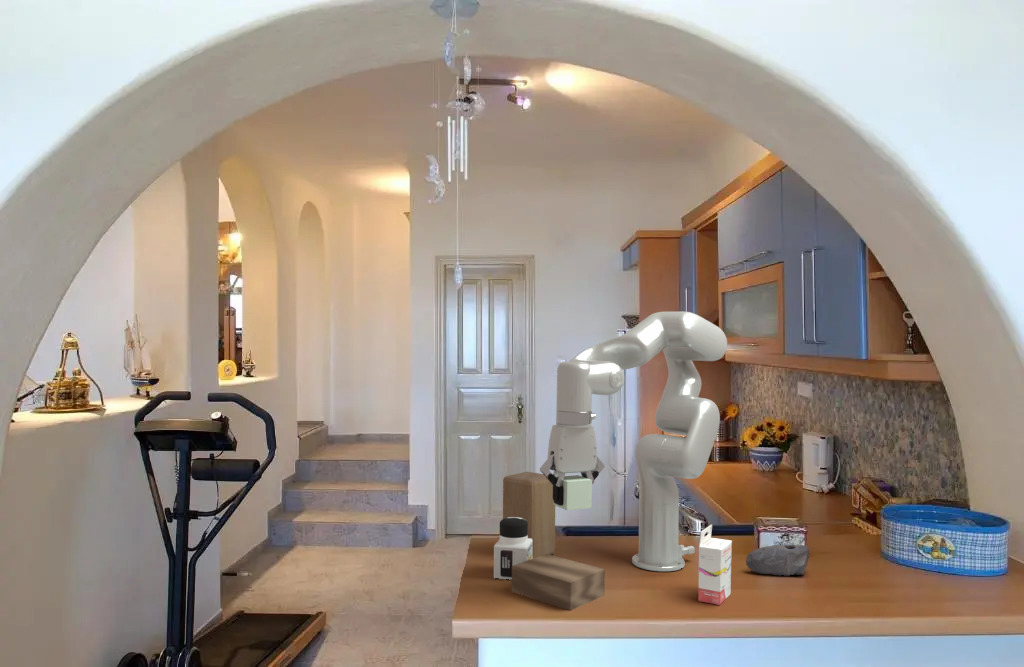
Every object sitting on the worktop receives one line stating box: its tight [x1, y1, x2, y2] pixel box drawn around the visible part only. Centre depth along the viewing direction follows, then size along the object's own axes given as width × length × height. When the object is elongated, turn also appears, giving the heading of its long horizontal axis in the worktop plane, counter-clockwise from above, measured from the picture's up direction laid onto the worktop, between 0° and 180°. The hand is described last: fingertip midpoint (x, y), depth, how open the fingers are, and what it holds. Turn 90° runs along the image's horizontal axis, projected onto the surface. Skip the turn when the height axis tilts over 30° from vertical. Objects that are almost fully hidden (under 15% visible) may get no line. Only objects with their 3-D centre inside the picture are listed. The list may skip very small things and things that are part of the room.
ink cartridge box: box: [697, 524, 733, 606], centre depth 162 cm, size 9×5×15 cm, turn 149°
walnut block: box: [511, 554, 606, 611], centre depth 164 cm, size 12×16×6 cm
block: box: [502, 471, 556, 559], centre depth 192 cm, size 10×10×20 cm
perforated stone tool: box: [745, 544, 810, 577], centre depth 178 cm, size 15×5×7 cm, turn 85°
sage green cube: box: [553, 474, 593, 511], centre depth 163 cm, size 6×6×6 cm
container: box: [493, 517, 533, 581], centre depth 176 cm, size 8×8×13 cm
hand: (572, 502), depth 163 cm, fingers closed on sage green cube, 6 cm apart
